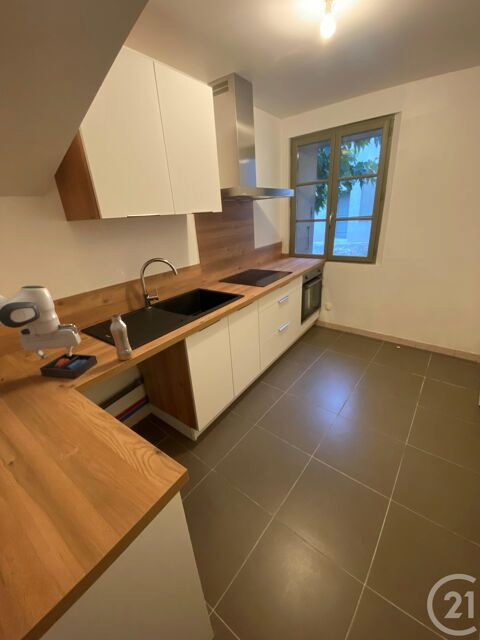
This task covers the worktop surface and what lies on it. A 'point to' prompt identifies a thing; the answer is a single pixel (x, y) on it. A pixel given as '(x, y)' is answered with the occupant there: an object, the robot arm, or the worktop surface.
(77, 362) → the blue block
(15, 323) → the robot arm
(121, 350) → the plastic bottle
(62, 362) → the red block
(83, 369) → the organiser
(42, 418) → the worktop surface
